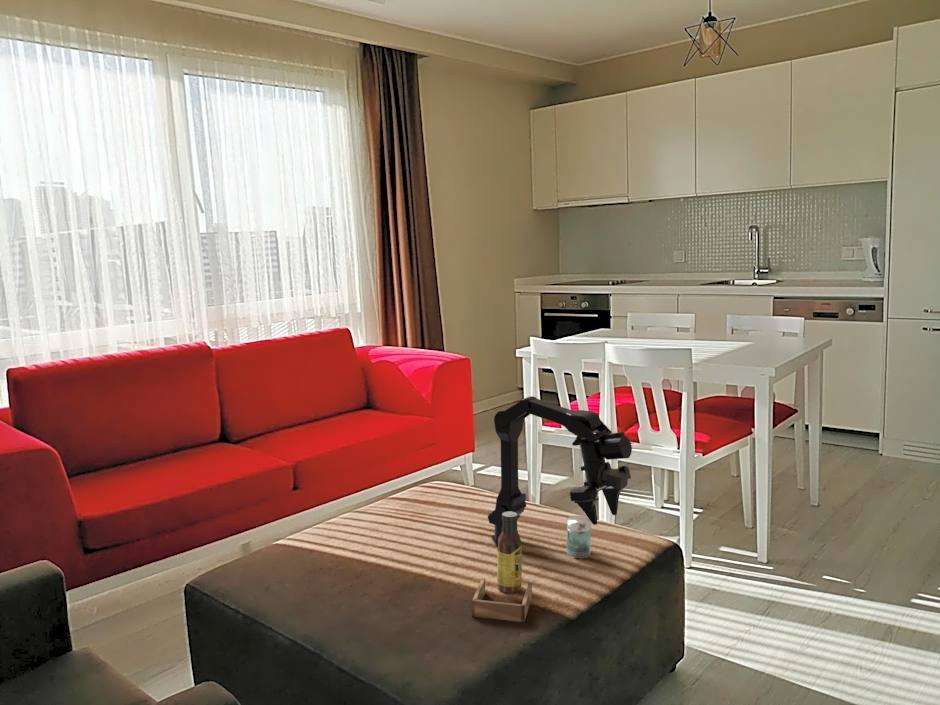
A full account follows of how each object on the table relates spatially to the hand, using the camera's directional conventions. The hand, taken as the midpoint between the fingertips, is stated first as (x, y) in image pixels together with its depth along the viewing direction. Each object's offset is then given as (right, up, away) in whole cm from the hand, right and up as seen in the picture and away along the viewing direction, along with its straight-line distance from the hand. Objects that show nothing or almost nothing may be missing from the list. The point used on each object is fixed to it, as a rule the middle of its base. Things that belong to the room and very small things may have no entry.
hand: (605, 519), depth 205 cm
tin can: (-5, -13, +15) cm, 21 cm away
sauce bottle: (-25, -17, -4) cm, 30 cm away
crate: (-27, -18, -13) cm, 35 cm away
